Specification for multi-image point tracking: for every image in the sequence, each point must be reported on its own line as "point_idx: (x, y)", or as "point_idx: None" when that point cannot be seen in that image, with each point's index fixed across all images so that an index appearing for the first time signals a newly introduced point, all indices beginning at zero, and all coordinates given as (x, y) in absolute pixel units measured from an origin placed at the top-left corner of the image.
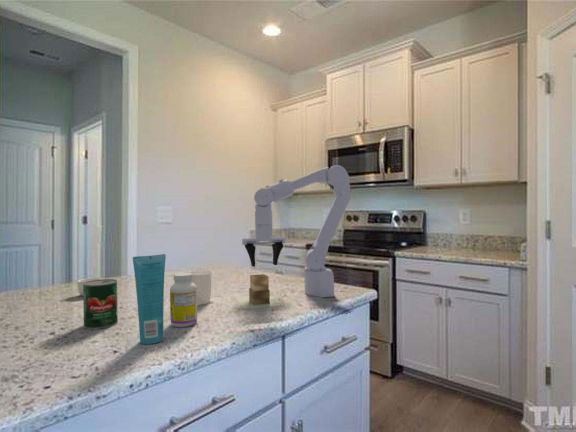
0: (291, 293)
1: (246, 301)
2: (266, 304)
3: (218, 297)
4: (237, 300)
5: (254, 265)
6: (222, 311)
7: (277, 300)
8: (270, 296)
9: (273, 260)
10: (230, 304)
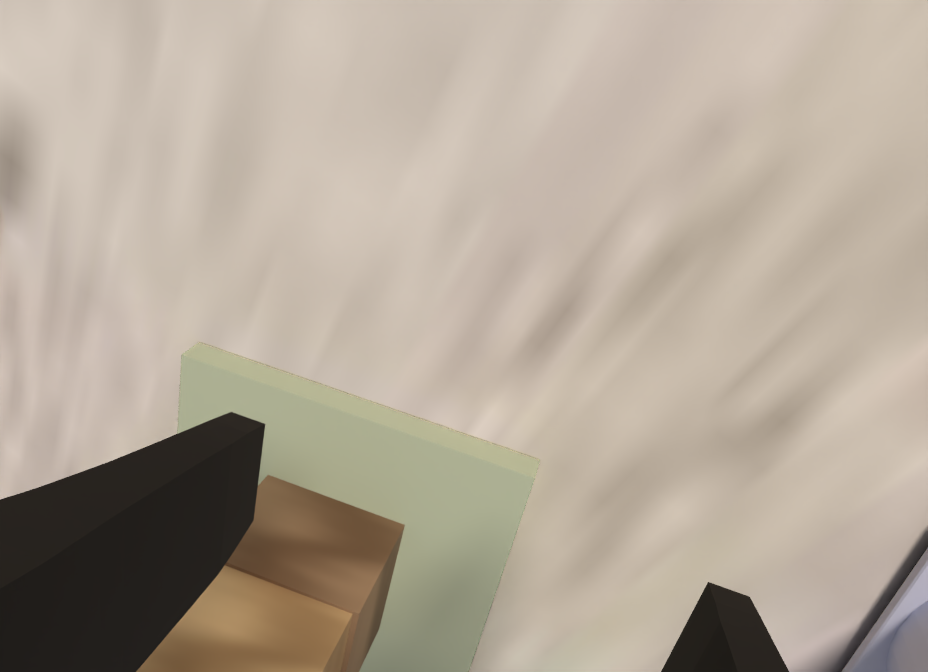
0: (918, 403)
1: None
2: None
3: (105, 4)
4: (189, 385)
5: (230, 535)
6: (61, 472)
7: (482, 613)
8: (516, 474)
9: (709, 669)
10: (150, 350)
